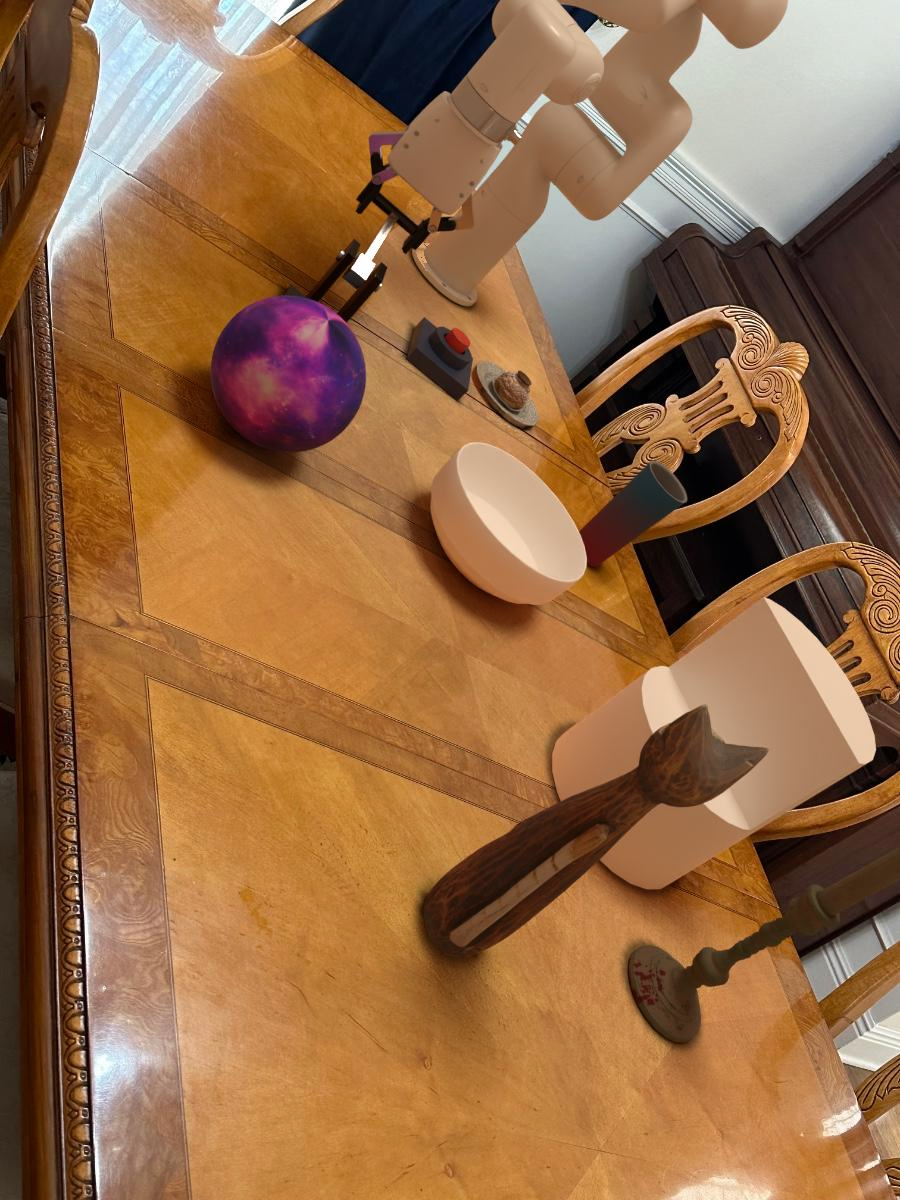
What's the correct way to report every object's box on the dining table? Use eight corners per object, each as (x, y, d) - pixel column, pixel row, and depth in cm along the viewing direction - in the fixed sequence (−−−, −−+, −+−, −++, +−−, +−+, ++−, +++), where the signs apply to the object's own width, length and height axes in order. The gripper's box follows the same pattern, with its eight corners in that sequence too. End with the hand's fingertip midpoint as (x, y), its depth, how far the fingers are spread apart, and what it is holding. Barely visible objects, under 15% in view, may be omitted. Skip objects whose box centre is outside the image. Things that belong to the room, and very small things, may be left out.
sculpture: (500, 930, 97) (784, 745, 82) (452, 985, 90) (756, 792, 75) (450, 864, 98) (723, 669, 83) (398, 913, 90) (688, 708, 76)
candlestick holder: (620, 934, 108) (890, 772, 93) (685, 963, 113) (953, 813, 98) (637, 1028, 102) (930, 870, 87) (705, 1055, 106) (995, 908, 91)
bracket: (285, 290, 141) (344, 218, 135) (343, 337, 144) (403, 269, 138) (268, 324, 133) (330, 249, 127) (330, 373, 136) (393, 302, 130)
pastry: (462, 378, 162) (484, 355, 159) (485, 358, 172) (506, 336, 170) (522, 440, 163) (544, 418, 160) (541, 416, 173) (563, 395, 171)
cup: (602, 552, 158) (685, 483, 151) (603, 581, 153) (689, 511, 145) (566, 523, 156) (648, 451, 149) (566, 551, 151) (651, 479, 143)
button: (445, 332, 157) (453, 323, 157) (462, 347, 159) (471, 339, 158) (443, 342, 155) (451, 333, 154) (461, 358, 156) (469, 349, 155)
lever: (373, 197, 139) (382, 187, 137) (412, 231, 141) (422, 221, 139) (328, 266, 133) (337, 257, 131) (369, 300, 135) (378, 291, 133)
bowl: (553, 586, 142) (603, 544, 138) (508, 653, 125) (562, 608, 121) (443, 468, 141) (489, 423, 137) (381, 520, 124) (432, 470, 120)
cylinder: (640, 744, 133) (816, 620, 121) (702, 896, 122) (903, 777, 110) (530, 715, 121) (714, 574, 108) (588, 881, 110) (800, 746, 98)
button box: (414, 327, 161) (432, 307, 159) (463, 368, 164) (482, 349, 162) (406, 358, 153) (425, 337, 151) (457, 401, 156) (477, 381, 154)
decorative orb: (156, 360, 114) (242, 248, 106) (265, 376, 126) (349, 277, 118) (223, 480, 109) (318, 372, 102) (329, 485, 121) (421, 389, 114)
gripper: (538, 155, 137) (439, 265, 145) (425, 48, 131) (329, 170, 140) (536, 174, 131) (434, 288, 139) (418, 64, 125) (319, 190, 134)
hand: (382, 228), depth 139 cm, fingers open, 6 cm apart
